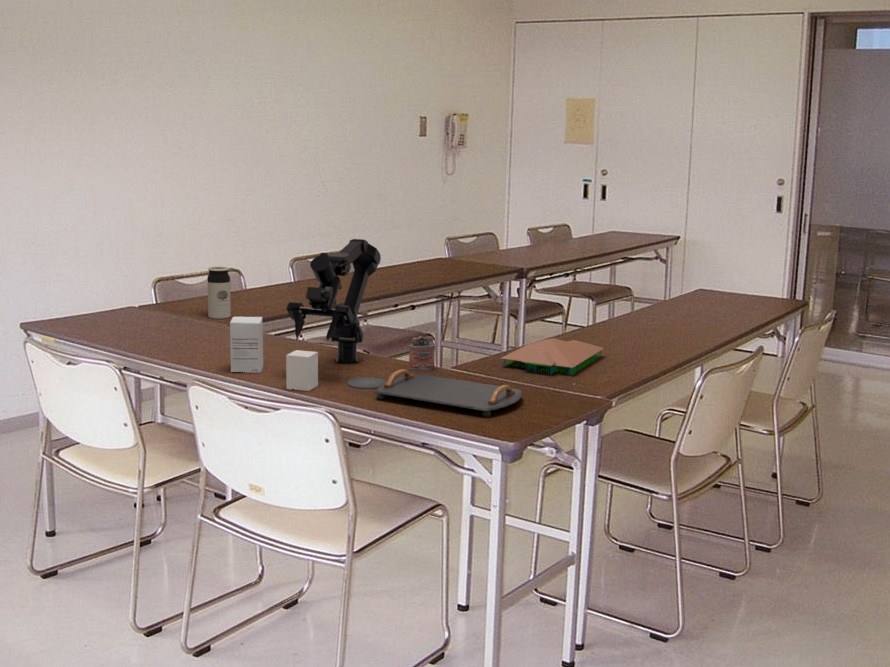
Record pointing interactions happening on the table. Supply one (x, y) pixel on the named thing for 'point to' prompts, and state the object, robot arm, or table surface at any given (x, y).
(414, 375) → the serving board
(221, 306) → the travel mug
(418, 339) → the lighter
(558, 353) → the house
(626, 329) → the table surface
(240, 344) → the supplement box
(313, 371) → the white upright block
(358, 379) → the mat
